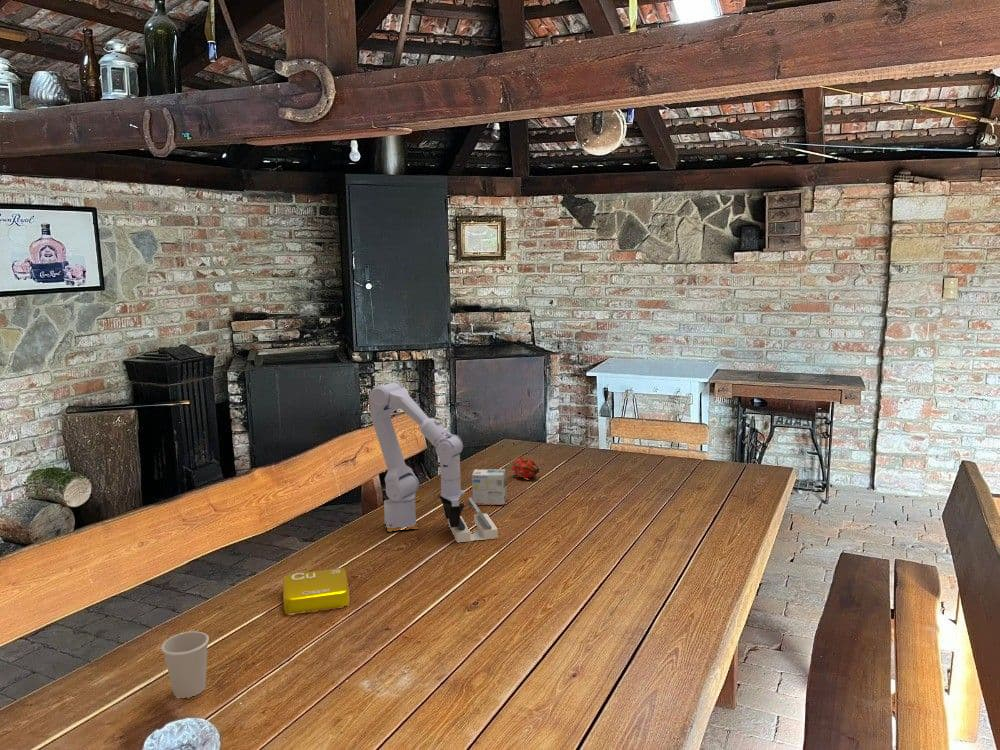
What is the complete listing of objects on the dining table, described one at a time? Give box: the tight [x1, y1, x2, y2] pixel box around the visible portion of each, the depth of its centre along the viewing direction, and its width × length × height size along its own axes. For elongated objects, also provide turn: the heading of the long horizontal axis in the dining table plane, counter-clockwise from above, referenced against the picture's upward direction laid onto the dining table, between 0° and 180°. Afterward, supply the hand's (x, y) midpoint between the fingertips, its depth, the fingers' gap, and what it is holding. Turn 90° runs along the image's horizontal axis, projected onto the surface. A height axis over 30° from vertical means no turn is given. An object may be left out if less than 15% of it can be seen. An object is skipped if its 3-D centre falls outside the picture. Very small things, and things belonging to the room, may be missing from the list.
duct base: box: [447, 513, 499, 542], centre depth 222 cm, size 12×14×3 cm
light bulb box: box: [471, 468, 507, 505], centre depth 248 cm, size 11×7×11 cm, turn 84°
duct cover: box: [468, 496, 492, 529], centre depth 222 cm, size 6×13×1 cm
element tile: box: [283, 567, 351, 613], centre depth 182 cm, size 15×15×5 cm
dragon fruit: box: [510, 456, 540, 479], centre depth 275 cm, size 8×8×12 cm
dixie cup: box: [160, 630, 210, 698], centre depth 143 cm, size 8×8×10 cm
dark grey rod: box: [458, 518, 465, 531], centre depth 221 cm, size 2×10×2 cm, turn 14°
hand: (452, 522), depth 220 cm, fingers open, 7 cm apart
